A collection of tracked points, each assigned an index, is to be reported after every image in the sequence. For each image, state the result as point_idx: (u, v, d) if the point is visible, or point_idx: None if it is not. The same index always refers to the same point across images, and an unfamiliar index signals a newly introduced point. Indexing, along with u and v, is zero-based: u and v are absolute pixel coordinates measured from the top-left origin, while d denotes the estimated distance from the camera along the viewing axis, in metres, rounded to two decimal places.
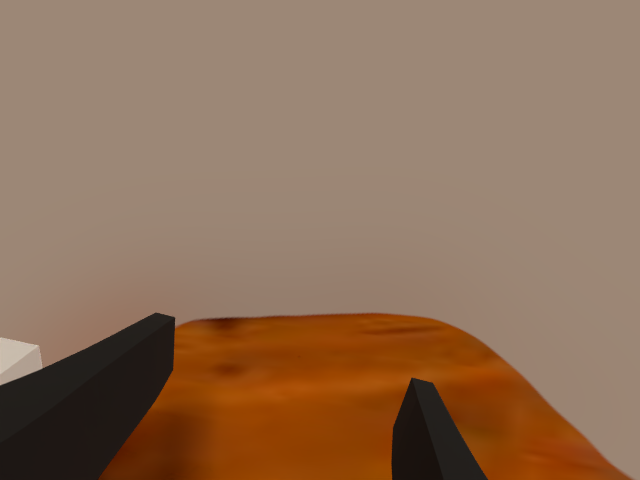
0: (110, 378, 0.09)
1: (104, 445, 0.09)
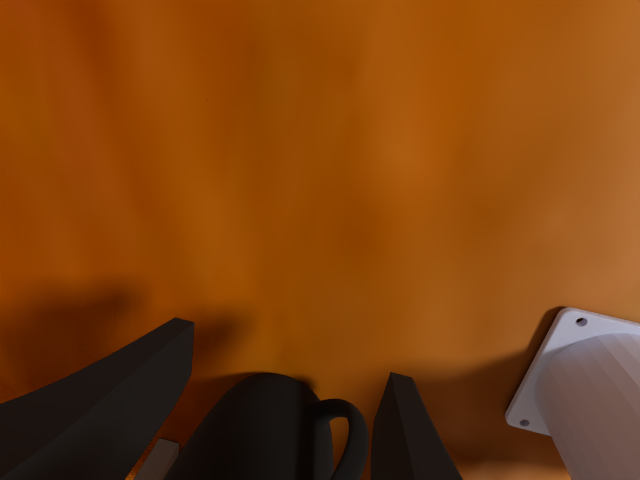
0: (135, 384, 0.09)
1: (127, 452, 0.09)
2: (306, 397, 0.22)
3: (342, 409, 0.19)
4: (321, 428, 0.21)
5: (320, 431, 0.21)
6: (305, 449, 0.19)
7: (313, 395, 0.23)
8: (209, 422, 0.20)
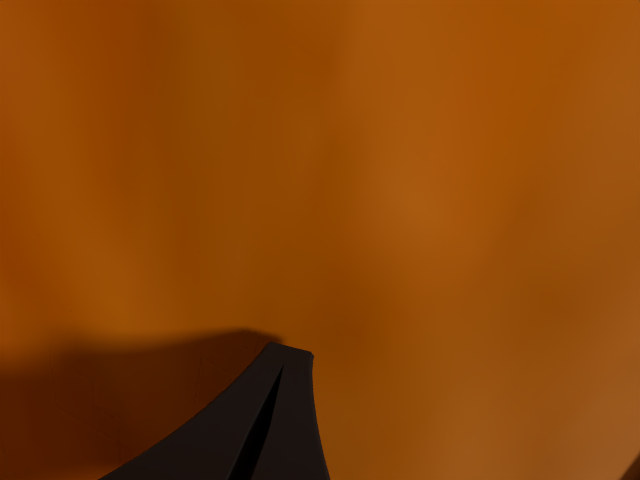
0: (258, 417, 0.08)
1: None
2: None
3: None
4: None
5: None
6: None
7: None
8: None
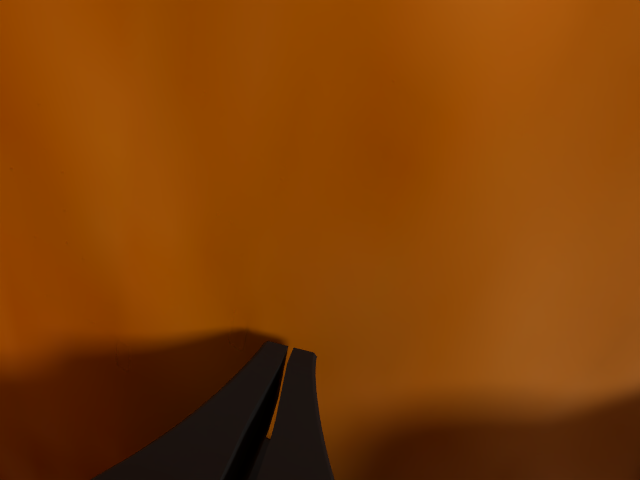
0: (254, 416, 0.08)
1: None
2: None
3: None
4: None
5: None
6: None
7: None
8: None
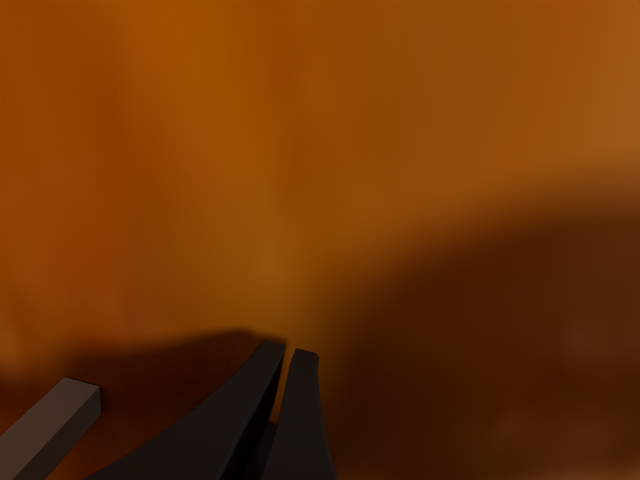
0: (251, 415, 0.08)
1: None
2: None
3: None
4: None
5: None
6: None
7: None
8: None
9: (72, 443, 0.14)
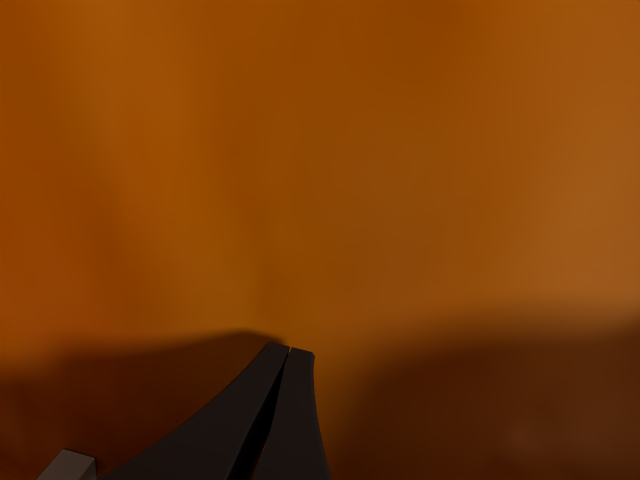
0: (257, 417, 0.08)
1: None
2: None
3: None
4: None
5: None
6: None
7: None
8: None
9: None
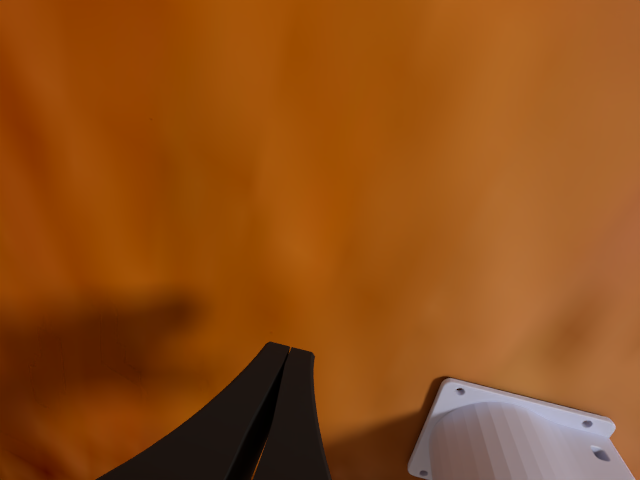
0: (257, 417, 0.08)
1: None
2: None
3: None
4: None
5: None
6: None
7: None
8: None
9: None
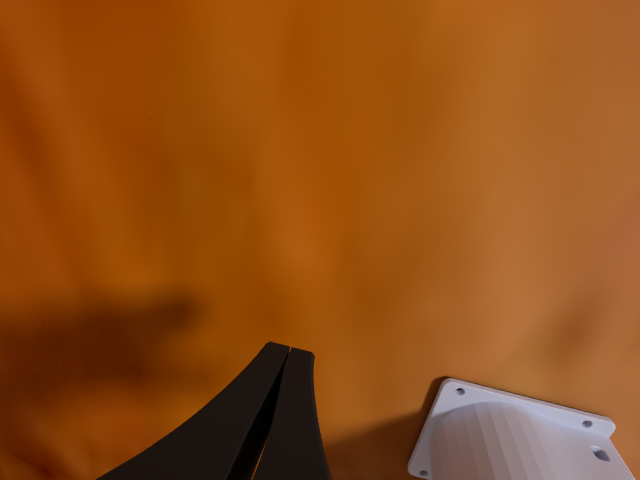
0: (257, 417, 0.08)
1: None
2: None
3: None
4: None
5: None
6: None
7: None
8: None
9: None
